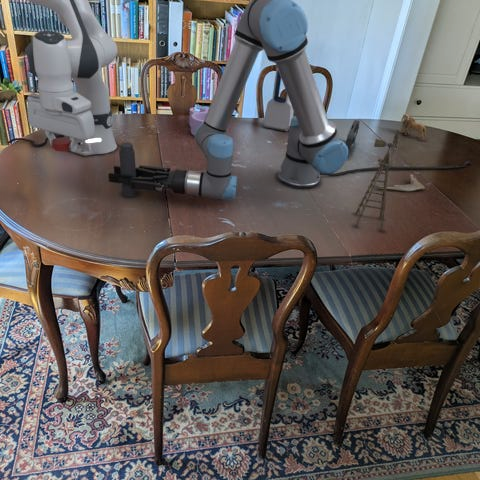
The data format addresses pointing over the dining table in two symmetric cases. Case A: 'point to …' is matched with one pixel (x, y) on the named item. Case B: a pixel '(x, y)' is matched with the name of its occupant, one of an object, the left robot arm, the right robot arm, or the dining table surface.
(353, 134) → the handheld gaming console
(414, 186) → the jawbone
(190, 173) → the right robot arm
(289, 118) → the electronic device
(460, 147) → the dining table surface
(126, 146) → the dark grey bottle
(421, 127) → the lion figurine
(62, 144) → the lid
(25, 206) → the dining table surface
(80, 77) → the left robot arm
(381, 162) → the miniature windmill
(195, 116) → the clip
